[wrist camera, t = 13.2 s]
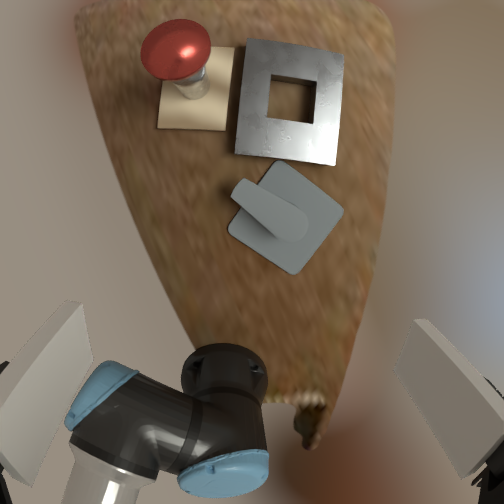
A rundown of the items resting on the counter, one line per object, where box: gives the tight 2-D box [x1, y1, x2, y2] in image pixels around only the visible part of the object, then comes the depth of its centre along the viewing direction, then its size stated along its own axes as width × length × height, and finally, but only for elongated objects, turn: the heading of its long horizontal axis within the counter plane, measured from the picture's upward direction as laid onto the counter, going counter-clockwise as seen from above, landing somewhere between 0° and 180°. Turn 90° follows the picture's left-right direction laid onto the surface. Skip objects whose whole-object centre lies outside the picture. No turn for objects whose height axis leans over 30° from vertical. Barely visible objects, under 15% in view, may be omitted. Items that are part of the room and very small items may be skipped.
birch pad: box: [157, 47, 234, 131], centre depth 34 cm, size 12×9×1 cm
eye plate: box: [234, 38, 344, 166], centre depth 35 cm, size 16×13×3 cm
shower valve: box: [228, 160, 343, 275], centre depth 39 cm, size 12×6×15 cm
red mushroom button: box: [141, 19, 211, 100], centre depth 27 cm, size 6×6×15 cm
